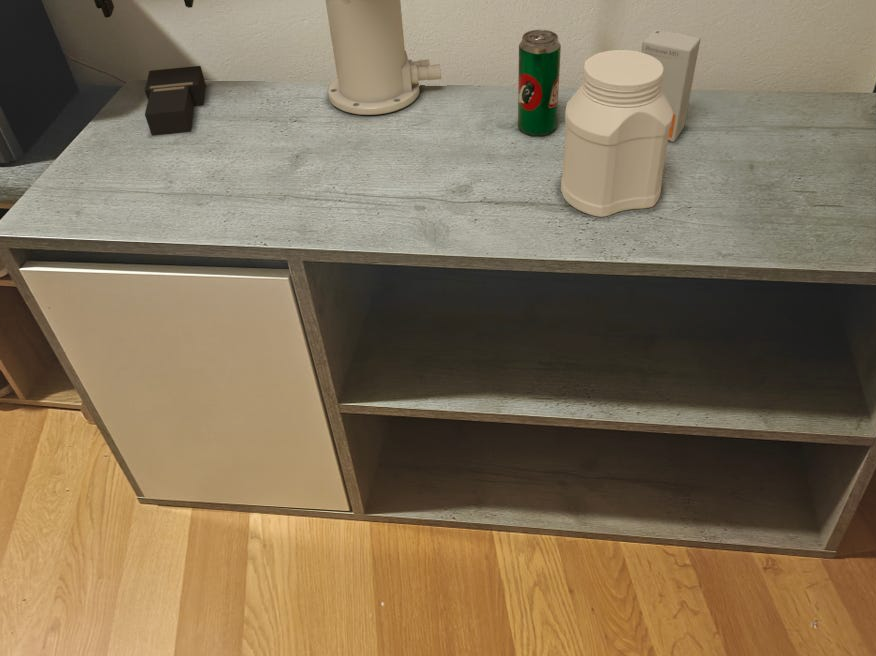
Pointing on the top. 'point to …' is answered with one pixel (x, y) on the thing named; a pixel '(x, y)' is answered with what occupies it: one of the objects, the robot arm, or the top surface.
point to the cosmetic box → (674, 71)
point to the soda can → (538, 82)
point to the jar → (616, 134)
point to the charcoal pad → (179, 81)
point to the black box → (169, 110)
